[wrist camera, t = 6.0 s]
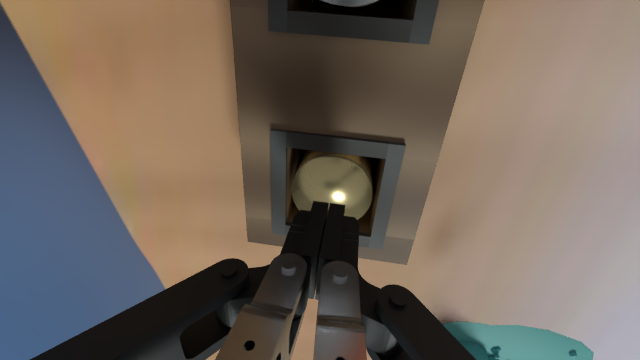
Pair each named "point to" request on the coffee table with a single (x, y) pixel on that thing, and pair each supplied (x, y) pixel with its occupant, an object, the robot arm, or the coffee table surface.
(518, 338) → the diorama
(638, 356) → the coffee table surface
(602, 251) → the coffee table surface
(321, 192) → the brass peg
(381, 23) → the walnut block
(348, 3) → the steel peg
